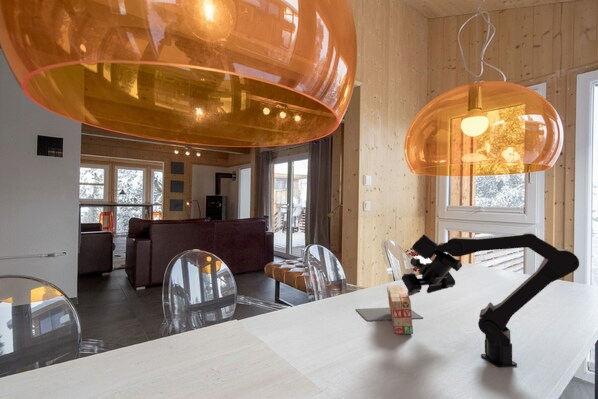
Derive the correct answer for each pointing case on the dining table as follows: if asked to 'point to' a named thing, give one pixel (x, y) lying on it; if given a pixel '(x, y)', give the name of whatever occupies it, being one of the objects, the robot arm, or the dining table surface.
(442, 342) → the dining table surface
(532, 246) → the robot arm
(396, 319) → the stack of blocks
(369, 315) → the mat
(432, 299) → the dining table surface
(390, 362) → the dining table surface
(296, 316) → the dining table surface
